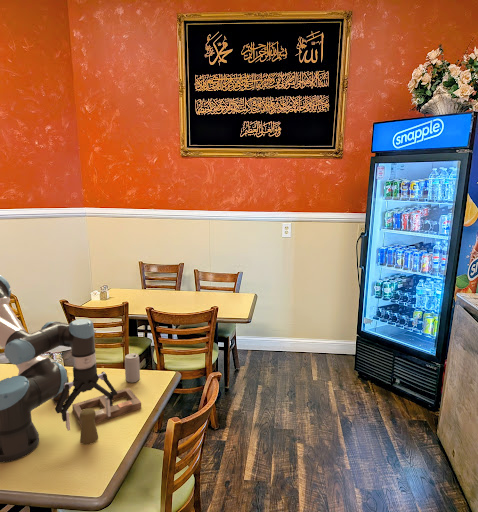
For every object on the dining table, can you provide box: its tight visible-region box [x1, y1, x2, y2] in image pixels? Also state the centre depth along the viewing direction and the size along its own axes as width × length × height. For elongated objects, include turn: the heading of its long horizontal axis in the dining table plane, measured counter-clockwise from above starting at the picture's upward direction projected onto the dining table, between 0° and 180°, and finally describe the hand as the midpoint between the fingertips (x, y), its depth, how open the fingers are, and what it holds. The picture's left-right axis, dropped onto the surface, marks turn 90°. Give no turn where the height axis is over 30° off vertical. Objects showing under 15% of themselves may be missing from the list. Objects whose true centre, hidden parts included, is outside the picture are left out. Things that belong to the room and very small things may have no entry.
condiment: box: [51, 368, 71, 406], centre depth 161 cm, size 7×8×12 cm
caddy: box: [71, 387, 142, 426], centre depth 155 cm, size 23×14×3 cm, turn 126°
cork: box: [79, 407, 99, 446], centre depth 136 cm, size 6×6×11 cm
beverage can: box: [124, 352, 141, 383], centre depth 177 cm, size 6×6×12 cm
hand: (88, 421), depth 135 cm, fingers open, 13 cm apart
